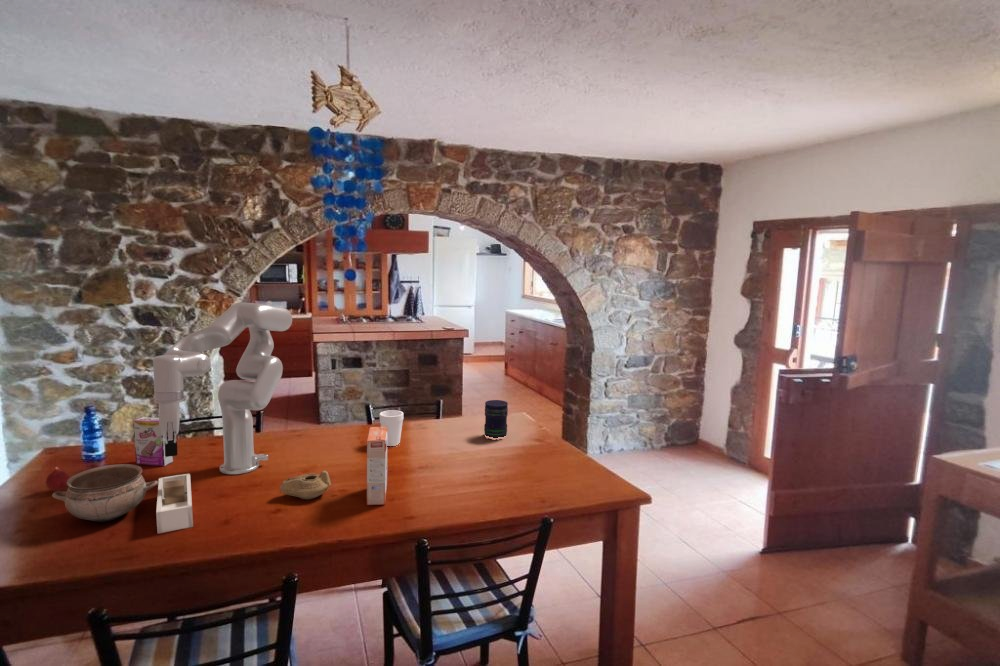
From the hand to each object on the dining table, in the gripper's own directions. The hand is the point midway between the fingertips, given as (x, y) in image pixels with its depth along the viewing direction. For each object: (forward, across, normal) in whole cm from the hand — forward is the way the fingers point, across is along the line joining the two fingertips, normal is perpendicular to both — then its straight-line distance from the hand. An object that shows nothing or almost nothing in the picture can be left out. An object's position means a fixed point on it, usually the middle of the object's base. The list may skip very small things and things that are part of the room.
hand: (171, 455), depth 166 cm
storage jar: (+12, -9, +119) cm, 120 cm away
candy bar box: (+14, -37, -6) cm, 40 cm away
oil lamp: (+14, +15, +36) cm, 42 cm away
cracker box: (+14, +25, +56) cm, 63 cm away
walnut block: (+11, +7, +1) cm, 14 cm away
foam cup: (+13, -19, +76) cm, 79 cm away
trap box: (+14, +9, +1) cm, 17 cm away
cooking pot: (+15, +4, -16) cm, 22 cm away
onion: (+15, -23, -31) cm, 41 cm away
